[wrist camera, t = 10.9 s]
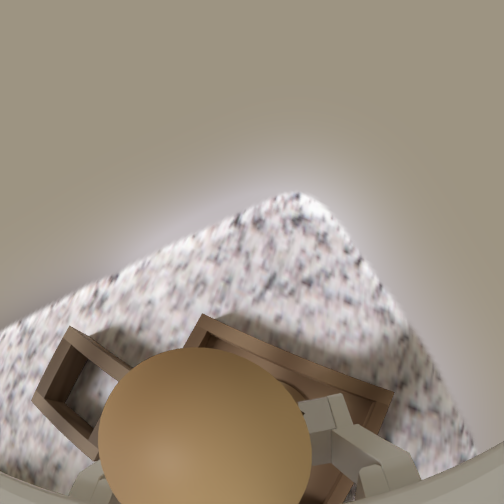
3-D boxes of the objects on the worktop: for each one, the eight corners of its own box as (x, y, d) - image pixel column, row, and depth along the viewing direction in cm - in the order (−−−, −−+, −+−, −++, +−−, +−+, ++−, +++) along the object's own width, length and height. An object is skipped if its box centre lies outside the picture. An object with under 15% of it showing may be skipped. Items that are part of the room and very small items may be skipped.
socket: (155, 382, 23) (138, 376, 20) (113, 459, 19) (93, 461, 17) (88, 335, 25) (69, 325, 22) (52, 405, 22) (31, 400, 19)
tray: (386, 394, 20) (394, 392, 18) (322, 522, 16) (325, 530, 14) (208, 321, 25) (202, 313, 23) (145, 437, 20) (133, 438, 19)
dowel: (311, 411, 15) (350, 401, 5) (278, 474, 13) (245, 577, 3) (244, 382, 16) (155, 313, 6) (211, 442, 15) (72, 469, 4)
